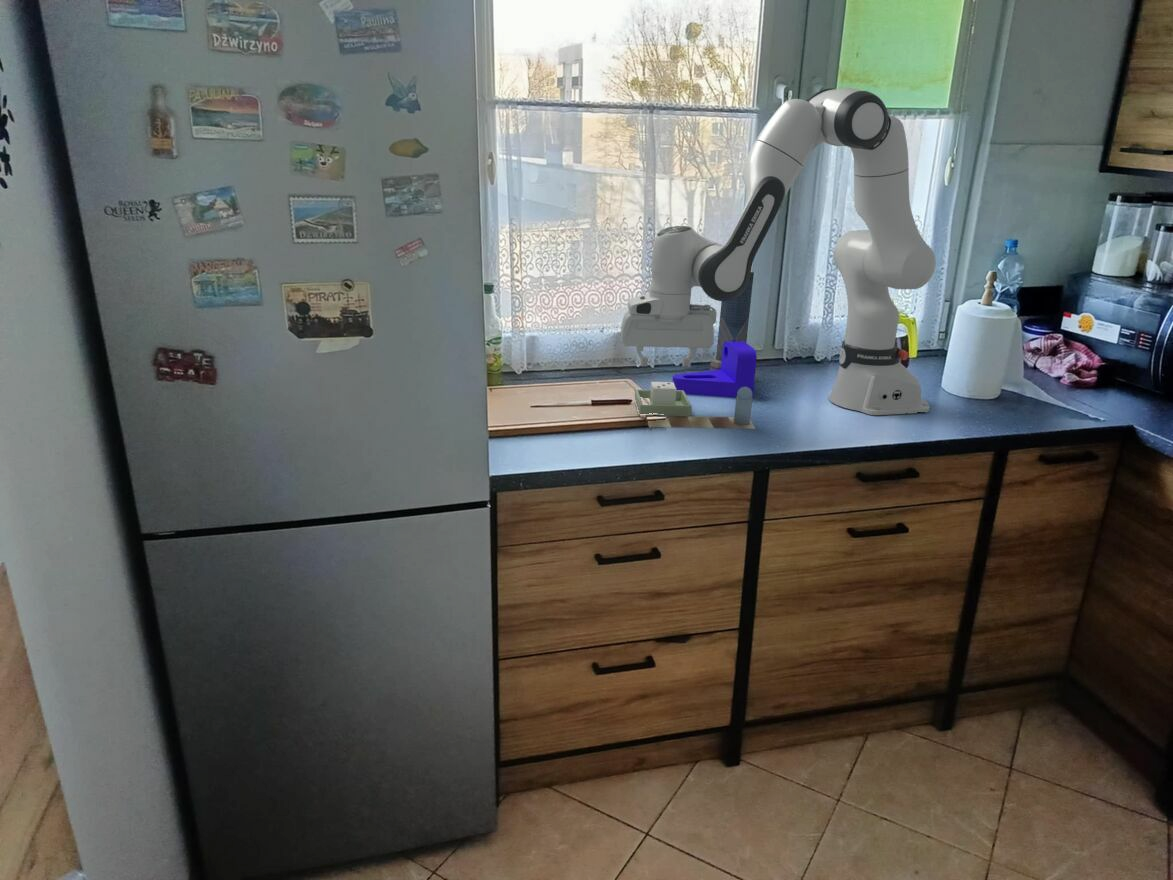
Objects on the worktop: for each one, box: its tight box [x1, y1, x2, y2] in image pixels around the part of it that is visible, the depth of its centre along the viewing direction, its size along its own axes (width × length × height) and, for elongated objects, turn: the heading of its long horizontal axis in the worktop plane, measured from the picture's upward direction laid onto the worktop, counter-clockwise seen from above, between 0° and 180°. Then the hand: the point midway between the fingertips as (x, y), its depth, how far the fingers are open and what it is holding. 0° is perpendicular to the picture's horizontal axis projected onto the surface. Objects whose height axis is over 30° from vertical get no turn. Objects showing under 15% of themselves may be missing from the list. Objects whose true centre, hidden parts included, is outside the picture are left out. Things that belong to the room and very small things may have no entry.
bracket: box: [671, 341, 757, 399], centre depth 207 cm, size 18×11×12 cm, turn 100°
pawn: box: [733, 387, 753, 425], centre depth 187 cm, size 3×3×8 cm
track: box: [647, 415, 756, 430], centre depth 188 cm, size 22×7×1 cm, turn 93°
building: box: [709, 271, 755, 371], centre depth 214 cm, size 10×9×30 cm
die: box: [650, 381, 676, 405], centre depth 195 cm, size 5×5×5 cm
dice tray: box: [634, 389, 692, 416], centre depth 196 cm, size 11×11×3 cm
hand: (664, 366), depth 193 cm, fingers open, 8 cm apart
